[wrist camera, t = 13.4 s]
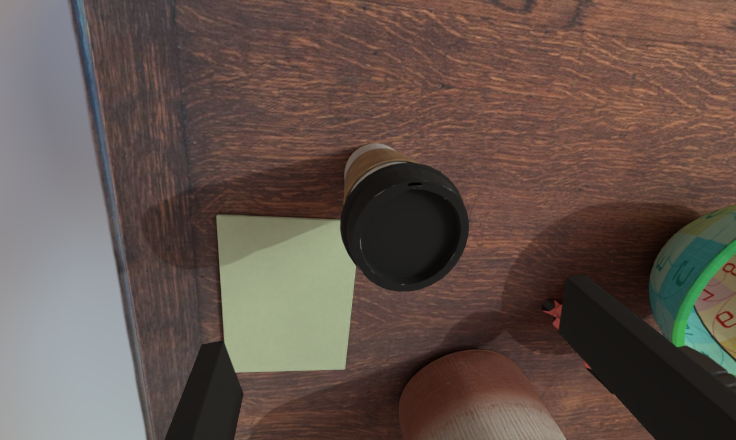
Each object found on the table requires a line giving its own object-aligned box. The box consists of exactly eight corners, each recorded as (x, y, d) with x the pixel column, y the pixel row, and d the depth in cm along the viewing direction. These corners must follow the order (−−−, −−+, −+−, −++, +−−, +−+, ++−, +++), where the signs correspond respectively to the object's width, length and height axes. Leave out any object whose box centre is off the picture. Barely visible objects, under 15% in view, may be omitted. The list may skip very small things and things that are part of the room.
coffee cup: (417, 127, 34) (487, 169, 20) (414, 210, 37) (472, 293, 24) (328, 131, 33) (339, 178, 19) (333, 215, 36) (346, 306, 23)
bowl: (635, 166, 39) (733, 197, 30) (803, 166, 42) (939, 194, 33) (580, 329, 48) (642, 392, 39) (722, 319, 51) (811, 375, 42)
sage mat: (217, 214, 35) (216, 215, 34) (360, 220, 37) (360, 221, 37) (226, 370, 42) (226, 372, 42) (344, 367, 45) (344, 369, 44)
